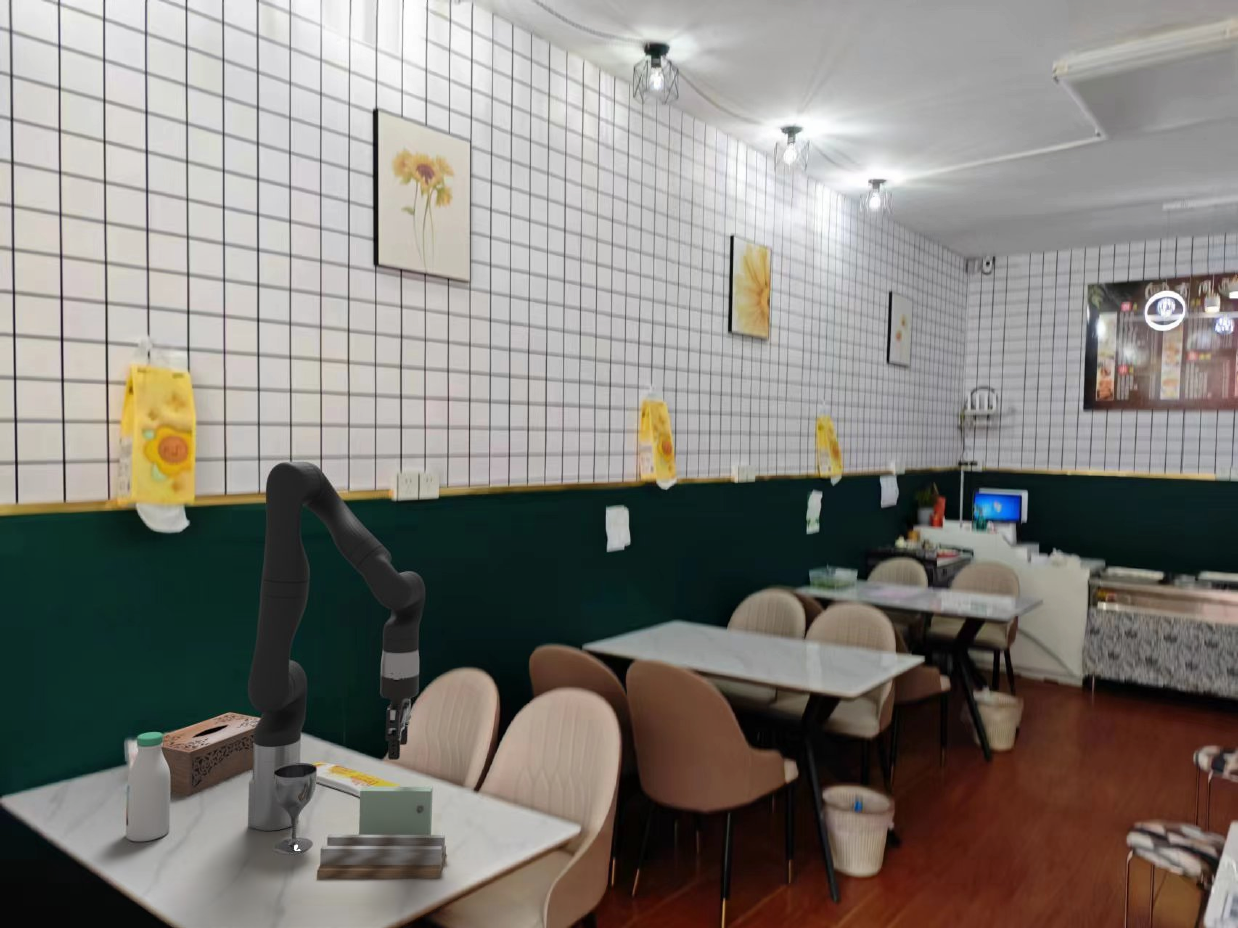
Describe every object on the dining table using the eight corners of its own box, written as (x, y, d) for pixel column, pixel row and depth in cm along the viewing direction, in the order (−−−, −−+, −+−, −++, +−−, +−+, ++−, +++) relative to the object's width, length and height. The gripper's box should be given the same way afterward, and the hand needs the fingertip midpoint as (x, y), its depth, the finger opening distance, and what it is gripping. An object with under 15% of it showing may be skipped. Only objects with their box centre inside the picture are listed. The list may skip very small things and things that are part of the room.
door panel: (357, 842, 177) (359, 792, 177) (361, 835, 180) (362, 786, 180) (428, 842, 178) (430, 792, 178) (431, 835, 181) (432, 786, 181)
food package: (401, 781, 205) (369, 795, 196) (401, 790, 205) (369, 805, 196) (320, 756, 218) (286, 768, 210) (319, 765, 218) (286, 778, 210)
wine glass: (289, 859, 169) (291, 780, 168) (263, 847, 173) (265, 771, 172) (323, 843, 175) (325, 768, 175) (297, 833, 180) (299, 760, 179)
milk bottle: (178, 829, 179) (180, 731, 179) (146, 845, 172) (149, 743, 172) (148, 823, 182) (151, 726, 182) (116, 838, 175) (118, 738, 174)
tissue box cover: (188, 797, 196) (189, 752, 196) (140, 786, 202) (141, 742, 201) (273, 760, 220) (274, 720, 220) (228, 751, 226) (229, 712, 225)
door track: (316, 878, 162) (317, 853, 161) (331, 852, 172) (331, 829, 171) (438, 878, 163) (439, 854, 163) (445, 853, 173) (446, 830, 173)
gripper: (387, 662, 185) (385, 739, 186) (373, 680, 171) (371, 764, 172) (424, 663, 186) (422, 739, 186) (413, 681, 172) (410, 764, 172)
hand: (397, 751), depth 179 cm, fingers open, 8 cm apart
